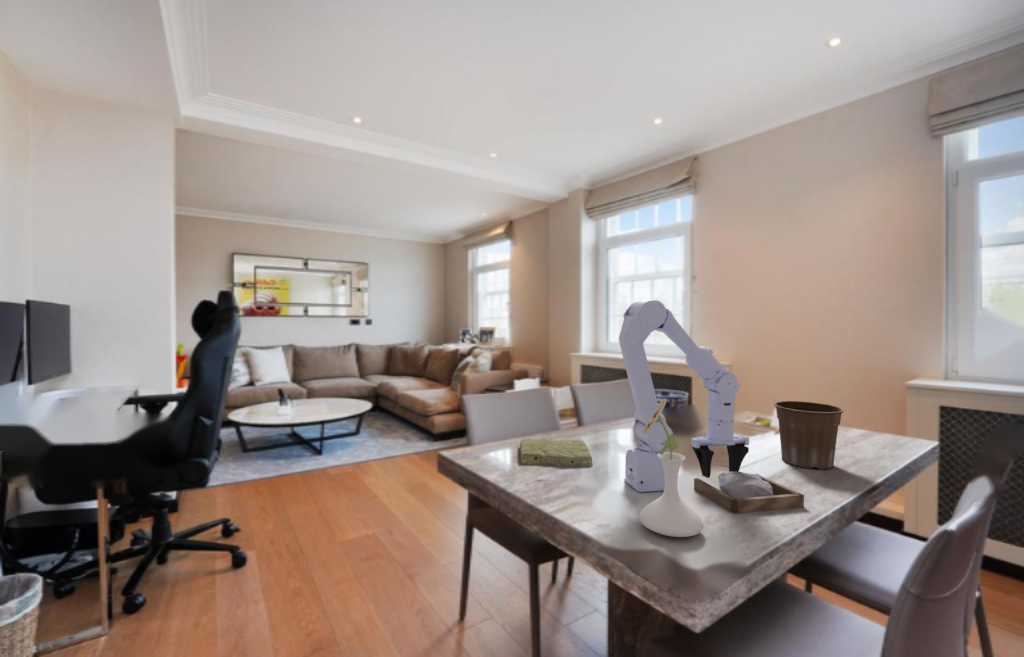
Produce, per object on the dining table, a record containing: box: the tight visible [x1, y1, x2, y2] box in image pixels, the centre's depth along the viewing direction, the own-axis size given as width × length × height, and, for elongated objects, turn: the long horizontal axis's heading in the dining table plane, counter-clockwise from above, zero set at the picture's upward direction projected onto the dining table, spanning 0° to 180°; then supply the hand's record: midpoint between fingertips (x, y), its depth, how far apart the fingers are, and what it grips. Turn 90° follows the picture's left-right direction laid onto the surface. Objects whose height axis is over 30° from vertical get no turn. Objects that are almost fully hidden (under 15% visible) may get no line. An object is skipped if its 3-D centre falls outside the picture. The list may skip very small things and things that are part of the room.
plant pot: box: [773, 400, 845, 470], centre depth 125 cm, size 16×16×16 cm
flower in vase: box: [638, 398, 704, 538], centre depth 83 cm, size 13×11×25 cm
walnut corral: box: [693, 475, 805, 514], centre depth 100 cm, size 17×14×2 cm
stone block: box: [717, 471, 774, 499], centre depth 103 cm, size 12×5×10 cm
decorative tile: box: [519, 438, 593, 467], centre depth 130 cm, size 19×20×4 cm
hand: (719, 475), depth 109 cm, fingers open, 7 cm apart
